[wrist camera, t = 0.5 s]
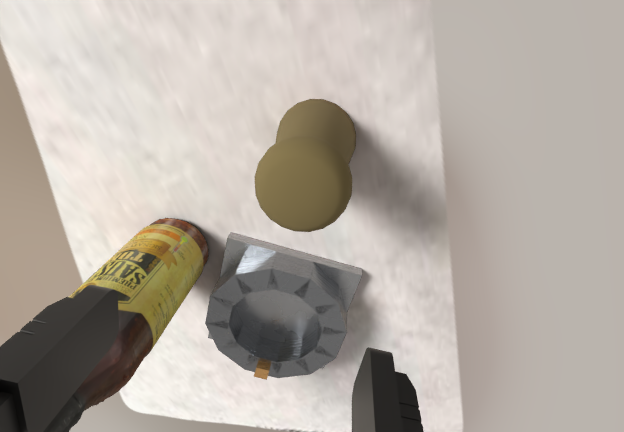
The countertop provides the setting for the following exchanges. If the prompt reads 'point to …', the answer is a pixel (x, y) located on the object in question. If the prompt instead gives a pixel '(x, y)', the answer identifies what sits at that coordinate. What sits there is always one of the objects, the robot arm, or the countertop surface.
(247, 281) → the hub
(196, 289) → the countertop surface
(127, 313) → the sauce bottle
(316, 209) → the cork
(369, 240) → the countertop surface
